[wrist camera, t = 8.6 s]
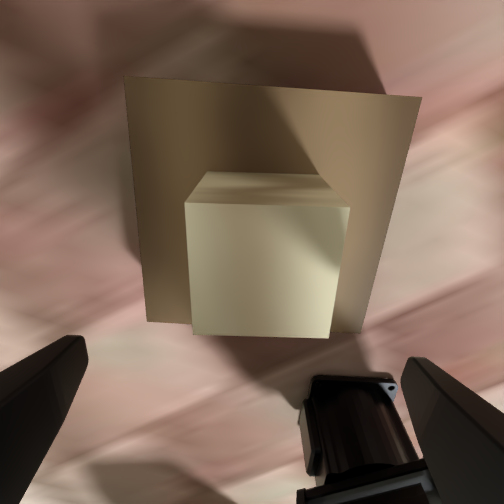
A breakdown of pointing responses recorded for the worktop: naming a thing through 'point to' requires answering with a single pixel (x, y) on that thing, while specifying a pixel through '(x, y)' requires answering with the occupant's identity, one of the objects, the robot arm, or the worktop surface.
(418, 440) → the robot arm
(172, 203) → the walnut block
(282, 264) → the maple cube
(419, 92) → the worktop surface
